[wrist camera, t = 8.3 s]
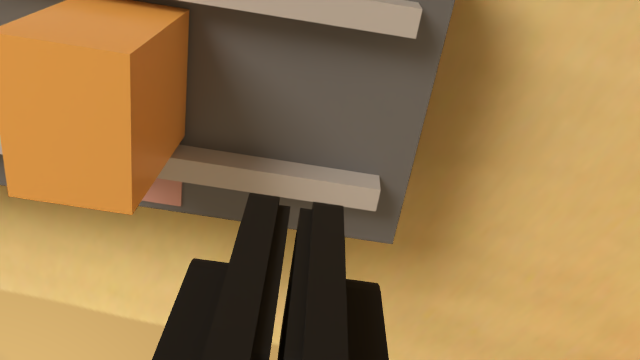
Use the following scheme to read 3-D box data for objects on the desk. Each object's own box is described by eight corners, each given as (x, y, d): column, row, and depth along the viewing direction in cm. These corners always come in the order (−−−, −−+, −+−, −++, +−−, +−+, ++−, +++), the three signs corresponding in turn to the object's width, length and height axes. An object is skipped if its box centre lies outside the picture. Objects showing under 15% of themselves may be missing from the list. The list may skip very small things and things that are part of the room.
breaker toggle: (189, 9, 16) (129, 54, 12) (184, 135, 18) (132, 215, 13) (85, -8, 16) (-14, 31, 11) (91, 121, 18) (8, 196, 13)
